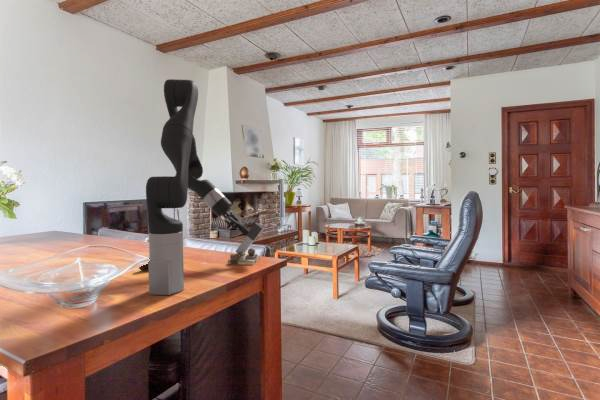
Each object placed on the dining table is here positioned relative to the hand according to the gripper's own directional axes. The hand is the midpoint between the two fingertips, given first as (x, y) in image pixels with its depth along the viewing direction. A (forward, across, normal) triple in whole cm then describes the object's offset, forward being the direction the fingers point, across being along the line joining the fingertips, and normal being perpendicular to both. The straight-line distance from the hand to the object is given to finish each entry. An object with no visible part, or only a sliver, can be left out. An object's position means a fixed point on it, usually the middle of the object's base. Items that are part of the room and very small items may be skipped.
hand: (247, 234), depth 136 cm
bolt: (-13, -13, +30) cm, 35 cm away
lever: (+3, 0, +9) cm, 9 cm away
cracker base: (+7, 0, +9) cm, 11 cm away
